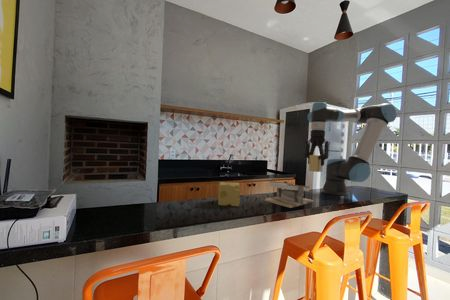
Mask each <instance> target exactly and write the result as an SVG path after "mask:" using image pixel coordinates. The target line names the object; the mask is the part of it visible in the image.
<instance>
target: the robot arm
mask: <svg viewBox="0 0 450 300" xmlns="http://www.w3.org/2000/svg"><path fill="white" fill-rule="evenodd" d="M327 104H328V103H327V102H325V101H323V102H322V101H317V102H314V103H313V104H312V108H311V109H312V110H311V111H309V113H307V120H308V122H309V123H311V124H310V125H311V126H310V129H311V130H310V139H309V140H305V154H304V156H305V158H307V159H308V160H307V164H308V165H309V160H310V155H314V153H315V149H316V148H318V151H319V155H320V158H321V159H320V160H319V171H322V172H323V169H322V166H323V167H324V166H325V161H326V160H327V159H328V160H327V161H326V167H325V168H326V170H325V172H326V173H325V182H324V185H323V186H322V190H321V191H322V193H324V194H327V195H331V196H339V197H341V196H342V197H344V196H348V188H347V185H346V181H349V182H350V181H351V182H353V183H356V182H357V183H362V182H363V183H364V182H365V181H367V180H368V179H369V178H370V176H371V170H372V169H371V167H370V162H369V159H370V157H371V155H372V152H373V150H374V148H375V146H376V143H377V142H378V140H379V137H380V135H381V133H382V131H383V129H386V128H387V127H388V125H389V123H392V122H395V120H396V118H397V110H396V107H395V106H394V105H393V104H391V103H389V102H388V103H381V104H375V105H374V104H373V105H367V106H363V107H358V108H352V109H346V110H345V109H343V110H342V109H341V108H338V107H328V105H327ZM338 122H340V123H342V122H350V123H352V124H354V123H355V124H356V123H358V124H367V125H366V127H365V129H364V132H363V133H362V136H361V138H360V140H359V142H358V144H357V145H356V147H355V150H354V152H353V153H352V155H350V156H349V157H348V158H347V159H346V158H329V149H330V148H329V147H330V143H331V142H330V140H329V141H328V140H326V139H325V136H326V131H325V130H326V123H338Z"/></svg>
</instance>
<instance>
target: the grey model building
mask: <svg viewBox="0 0 450 300" xmlns="http://www.w3.org/2000/svg"><path fill="white" fill-rule="evenodd" d="M268 185H269V186H270V187H274V188H276V189H277V188H282V189H287V190H294V191H298V189H299V187H304V192H303V197H304V196H305V192H310V190H311V186H307V185H298V184H294V183H292V182H291V183H290V182H283V181H273V180H269V184H268Z"/></svg>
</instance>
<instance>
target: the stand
mask: <svg viewBox="0 0 450 300" xmlns="http://www.w3.org/2000/svg"><path fill="white" fill-rule="evenodd" d="M303 192H304V187H299V189H298V191H294V190H287V189H282V188H277V187H276V196H274V197H268V198H265V199H264V202H266V203H272V204H275V205H278V206H282V207H285V208H290V209H291V208H292V209H293V208H297V207H300V206H304V205H307V204H311V203H314V200H313V199H310V198H304V196H303ZM304 193H305V192H304Z"/></svg>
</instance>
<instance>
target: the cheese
mask: <svg viewBox="0 0 450 300" xmlns="http://www.w3.org/2000/svg"><path fill="white" fill-rule="evenodd" d="M217 192H218V195H217V197H218V199H217V204H218V206H231V207H240V203H241V201H240V200H241V199H240V196H241V195H240V193H241V191H240V182H235V181H234V182H227V181H226V182H225V181H224V182H223V181H220V182H219V184H218V191H217Z"/></svg>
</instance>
